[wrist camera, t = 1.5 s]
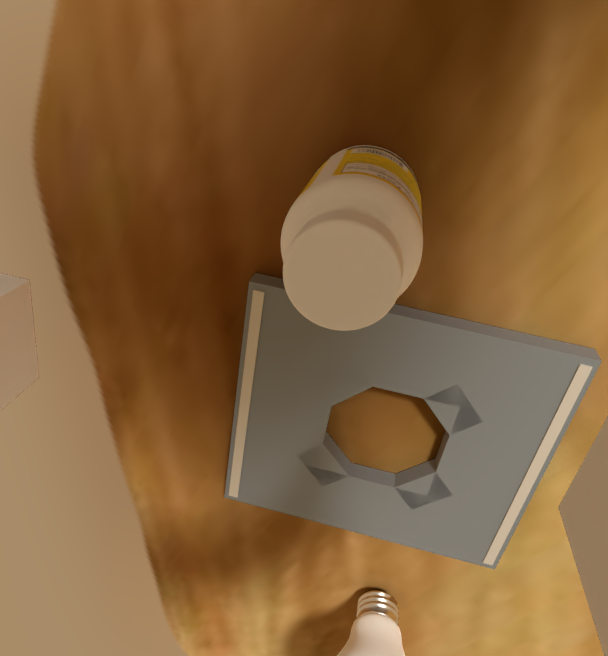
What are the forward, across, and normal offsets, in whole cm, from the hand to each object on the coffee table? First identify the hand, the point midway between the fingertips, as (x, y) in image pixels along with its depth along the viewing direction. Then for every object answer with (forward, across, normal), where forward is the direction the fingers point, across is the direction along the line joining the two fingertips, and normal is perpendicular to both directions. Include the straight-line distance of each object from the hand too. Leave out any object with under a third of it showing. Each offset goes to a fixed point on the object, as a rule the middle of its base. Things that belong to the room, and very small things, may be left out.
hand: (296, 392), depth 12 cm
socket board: (+16, +4, -12) cm, 21 cm away
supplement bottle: (+16, 0, 0) cm, 16 cm away
